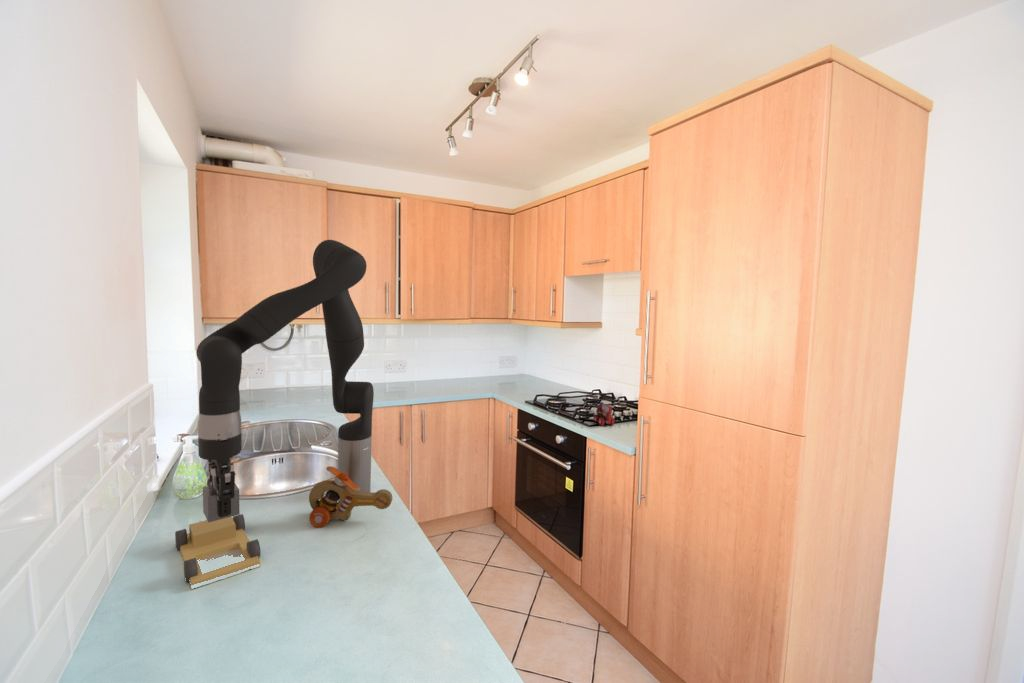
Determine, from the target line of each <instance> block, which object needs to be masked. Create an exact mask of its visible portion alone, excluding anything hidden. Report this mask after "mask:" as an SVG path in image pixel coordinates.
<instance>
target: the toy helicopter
mask: <svg viewBox="0 0 1024 683" xmlns="http://www.w3.org/2000/svg"><path fill="white" fill-rule="evenodd" d="M326 470H327V472H329V473H331V475H333V476H334V479H333V480H332V479H331V480H330V479H329V480H328V479H327V480H322V481H320V482H319V481H318V482H317V483H316V484H315V485H314V486H313V487H312V488H311V490H310V492H309V494H308V495H309V496H308V502H309V505H310V507H311V509H312V511H311V512H310V514H309V516H308V521H309V524H310V525H311V526H313V527H315V528H324V527H325V526H326V525H327V524H328V523H329V522H330V520H335V519H340V521H342V520H347V521H348V520H350V518H351V516H352V511H353V509H354V508H355V507H365V506H366V507H369V506H371V507H376V508H377V509H379V510H385V509H388V508H389V507H390V505H391V504H392V501H393V498H394V496H393V494H392V492H390V490H388V489H384V488H383V489H379V490H377V491H376V492H371V491H370V492H355V491H359V490H360V487H359V486H357V485H356V484H355V483H354V482H353V481H351V480H350V479H349V478H348V474H347V473H342V472H341V471H339V470H338V468H336V467H335V466H331V465H329V466H326ZM353 490H354V491H353Z"/></svg>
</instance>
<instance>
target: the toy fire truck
mask: <svg viewBox="0 0 1024 683" xmlns="http://www.w3.org/2000/svg"><path fill="white" fill-rule="evenodd" d="M612 410H613V407H612V405H608V404H607V403H604V402H603V401H600V402H599V404H598V405H597V408H596V412H595V414H594V415H593V422H594V421H595V422H598V423H599V424H598V423H597V424H598V425H599V426H600V427H604V425H609V426H614V425H615V419H614V417H613V416H612ZM595 422H594V423H595Z"/></svg>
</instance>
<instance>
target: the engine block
mask: <svg viewBox="0 0 1024 683" xmlns="http://www.w3.org/2000/svg"><path fill="white" fill-rule="evenodd" d="M227 492H228V490H224V491H223V493H227ZM234 494H235V496H234V498H231V514H230V515H228V516H225V517H219V516H218V499H217V490H216V489H214V488H213V485H211V484H209V485H206V486H203V487H202V501H203V502H202V503H203V504H202V507H203V509H202V510H203V511H202V512H203V514H204V517H205V519H206V520H207V521H208V523H209V522H213V521H216V520H220V519H224V518H228V517H232V518H233V516H237V515H240V488H239V487H238V486H237V484H236V483H235V488H234Z"/></svg>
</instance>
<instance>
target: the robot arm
mask: <svg viewBox="0 0 1024 683" xmlns="http://www.w3.org/2000/svg"><path fill="white" fill-rule="evenodd" d="M312 266H313V271H314V275H315V278H313V279H312V280H309V281H308V282H306V283H303V284H301V285H299V286H296V287H292V288H290V289H286V290H283V291H280V292H277V293H274V294H271V295H270V296H268V297H266V298H264V299H262V300H261V301H260V302H258V303H257V304H255V305H254V306H253V307H251V308H249V309H248V310H247V311H246V312H244V313H243V314H241V315H240V316H239V317H238V318H235V320H233V321H231V322H229V323H228V324H226V325H224V326H222V327H221V328H219V329H217V330H215V331H214V332H211V334H209V335H208V336H206V337H205V338H203V340H201V341H200V342H199V344H198V345H197V348H196V358H197V359H198V361H199V363H200V373H201V374H200V377H201V379H200V380H201V386H200V388H199V392H198V412H199V413H198V422H197V440H198V441H197V442H198V457H199V458H200V459H201V460H206V461H207V469H208V482H209V483H210V485H213V488H214V489H216V490H217V499H218V516H219V517H225V516H228V515H230V514H231V498H234V496H235V494H234V488H235V484H236V483H235V482H236V472H235V467H234V463H233V462H232V461H231V459H232V458H233V457H235V456H237V455H239V454H240V453H241V452H242V450H243V448H242V446H243V445H242V444H243V443H242V442H243V441H242V436H243V434H242V432H243V431H242V430H243V429H242V416H241V410H240V409H241V400H240V399H241V398H240V397H241V395H240V394H241V393H240V383H241V377H242V368H243V357H242V356H243V355H242V354H244V353H245V352H247V351H248V350H249V349H251V348H252V347H254V346H255V345H259V344H263V343H265V342H266V341H268V340H269V339H270V338H273V336H275V335H277V333H278V332H280V331H281V330H282V329H284V328H285V327H287V326H288V325H289V324H291V323H292V322H293V321H295V320H296V319H297V318H299V317H300V316H302V315H304V314H305V313H307V312H309V311H311V310H312V309H314V308H316V307H318V306H320V305H321V306H322V307H321V308H322V315H323V322H324V328H325V330H324V331H325V339H326V347H327V351H328V357H329V363H330V371H331V372H330V373H331V374H330V375H331V392H332V395H331V396H332V405H333V407H334V410H335V412H337V413H338V414H339V413H340V414H354V415H355V414H358V415H359V417H357V419H354V420H351V421H349V422H346V423H344V424H341V425H340V426H339V427H338V429H337V430H338V431H337V432H338V433H337V434H338V435H337V469H338V470H339V471H341V472H342V473H347V474H348V478H349V479H350V480H351V481H353V482H354V483H355V484H356V485H357V486H359V487H360V490H359V491H355V492H371V486H372V485H371V481H372V479H371V478H372V475H371V474H372V442H373V441H372V436H373V435H372V431H373V430H372V429H373V428H372V427H373V410H374V408H373V406H374V397H375V396H374V386H373V384H372V383H371V382H370V381H352V380H351V381H347V380H346V376H347V375H348V373H349V370H350V369H352V366H353V365H354V364H356V361H357V360H358V359H359V358H360V356H361V355H362V353H363V350H364V348H365V339H364V338H365V336H364V327H363V322H362V320H361V316H360V314H359V312H358V310H357V309H356V306H355V304H354V302H353V300H352V297H351V295H350V291H349V289H350V288H352V287H354V286H355V285H357V284H358V283H360V282H361V280H362V279H363V278H364V276H365V275H366V272H367V261H366V258H365V257H364V256H363V255H362V254H361V253H360V252H358V251H356V250H355V249H354V248H351V247H350V246H348V245H346V244H344V243H342V242H340V241H339V240H338V241H337V240H334V239H325V240H323V241H321V242H320V243H318V244H317V246H316V248H315V249H314V251H313V255H312ZM224 490H228V492H227V493H223V491H224ZM353 491H354V490H353Z"/></svg>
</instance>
